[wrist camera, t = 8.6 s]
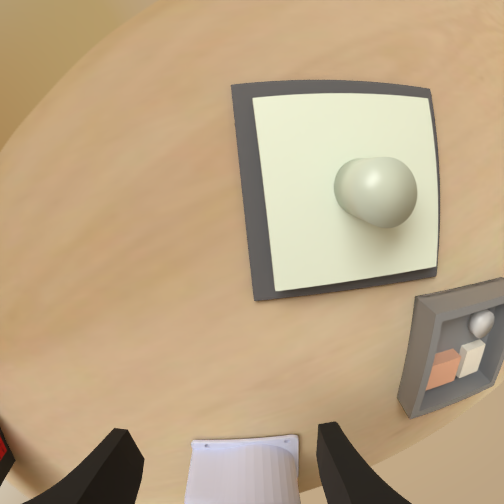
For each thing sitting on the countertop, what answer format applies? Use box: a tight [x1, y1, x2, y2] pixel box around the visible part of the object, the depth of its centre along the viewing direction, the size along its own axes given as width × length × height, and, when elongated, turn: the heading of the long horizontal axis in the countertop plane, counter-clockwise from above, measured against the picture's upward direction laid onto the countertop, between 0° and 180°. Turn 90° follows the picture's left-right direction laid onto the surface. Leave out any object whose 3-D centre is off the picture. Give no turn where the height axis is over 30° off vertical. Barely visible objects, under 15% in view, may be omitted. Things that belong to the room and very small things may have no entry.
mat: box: [231, 80, 440, 301], centre depth 17 cm, size 13×13×1 cm
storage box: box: [397, 277, 504, 419], centre depth 19 cm, size 10×10×3 cm
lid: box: [252, 93, 438, 291], centre depth 14 cm, size 11×11×5 cm
